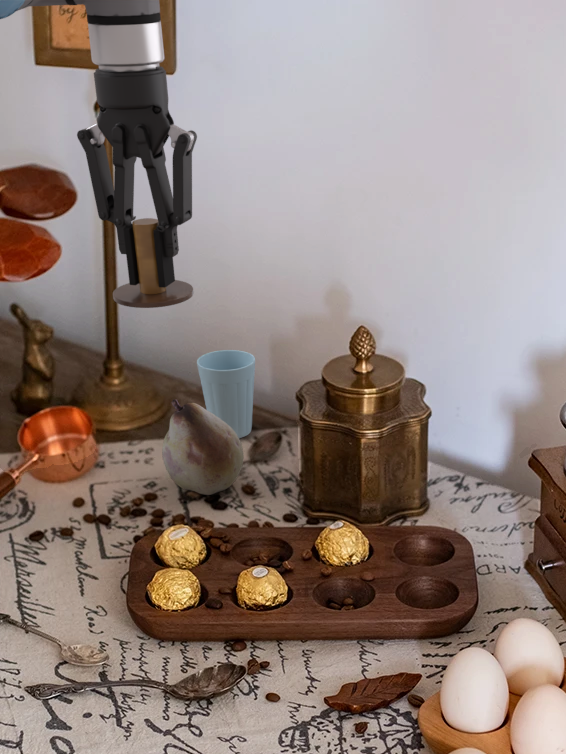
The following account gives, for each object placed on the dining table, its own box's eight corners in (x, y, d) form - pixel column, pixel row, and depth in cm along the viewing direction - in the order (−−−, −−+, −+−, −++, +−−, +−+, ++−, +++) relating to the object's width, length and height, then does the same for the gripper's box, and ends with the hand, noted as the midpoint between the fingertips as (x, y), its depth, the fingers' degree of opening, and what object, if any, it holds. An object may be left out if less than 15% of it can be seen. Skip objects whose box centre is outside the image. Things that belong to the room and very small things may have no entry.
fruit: (151, 483, 137) (141, 394, 132) (213, 461, 143) (206, 374, 137) (198, 512, 131) (190, 419, 125) (261, 487, 136) (256, 397, 131)
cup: (219, 416, 155) (213, 346, 150) (268, 424, 153) (264, 353, 148) (193, 438, 149) (186, 365, 144) (244, 446, 147) (239, 373, 142)
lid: (99, 304, 125) (89, 229, 121) (135, 281, 133) (127, 209, 129) (173, 310, 123) (165, 234, 119) (206, 286, 131) (199, 214, 127)
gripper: (213, 63, 118) (229, 278, 129) (78, 60, 122) (104, 269, 133) (184, 72, 111) (204, 297, 123) (42, 68, 115) (73, 287, 126)
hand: (152, 282), depth 128 cm, fingers closed on lid, 3 cm apart
